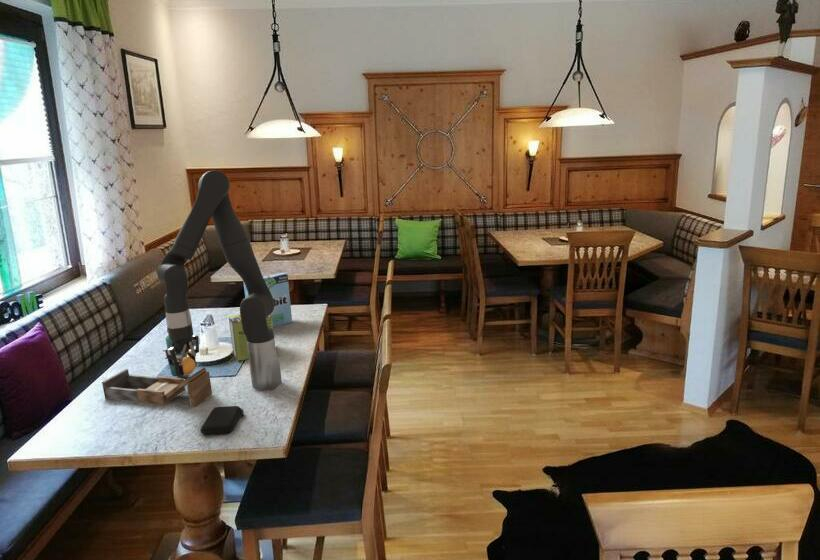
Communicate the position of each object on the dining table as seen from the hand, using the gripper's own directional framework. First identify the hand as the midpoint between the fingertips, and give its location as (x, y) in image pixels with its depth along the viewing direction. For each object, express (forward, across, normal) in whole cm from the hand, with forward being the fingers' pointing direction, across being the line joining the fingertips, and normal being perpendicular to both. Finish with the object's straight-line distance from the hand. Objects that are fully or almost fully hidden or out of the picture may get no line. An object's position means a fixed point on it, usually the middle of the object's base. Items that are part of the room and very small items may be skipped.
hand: (186, 371), depth 192 cm
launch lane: (+10, 0, -12) cm, 16 cm away
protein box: (+10, -41, 0) cm, 42 cm away
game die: (+10, -27, -26) cm, 39 cm away
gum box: (+10, -72, -10) cm, 73 cm away
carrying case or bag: (+11, +12, +21) cm, 26 cm away
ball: (-2, 0, 0) cm, 2 cm away
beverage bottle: (+10, -15, -15) cm, 24 cm away
